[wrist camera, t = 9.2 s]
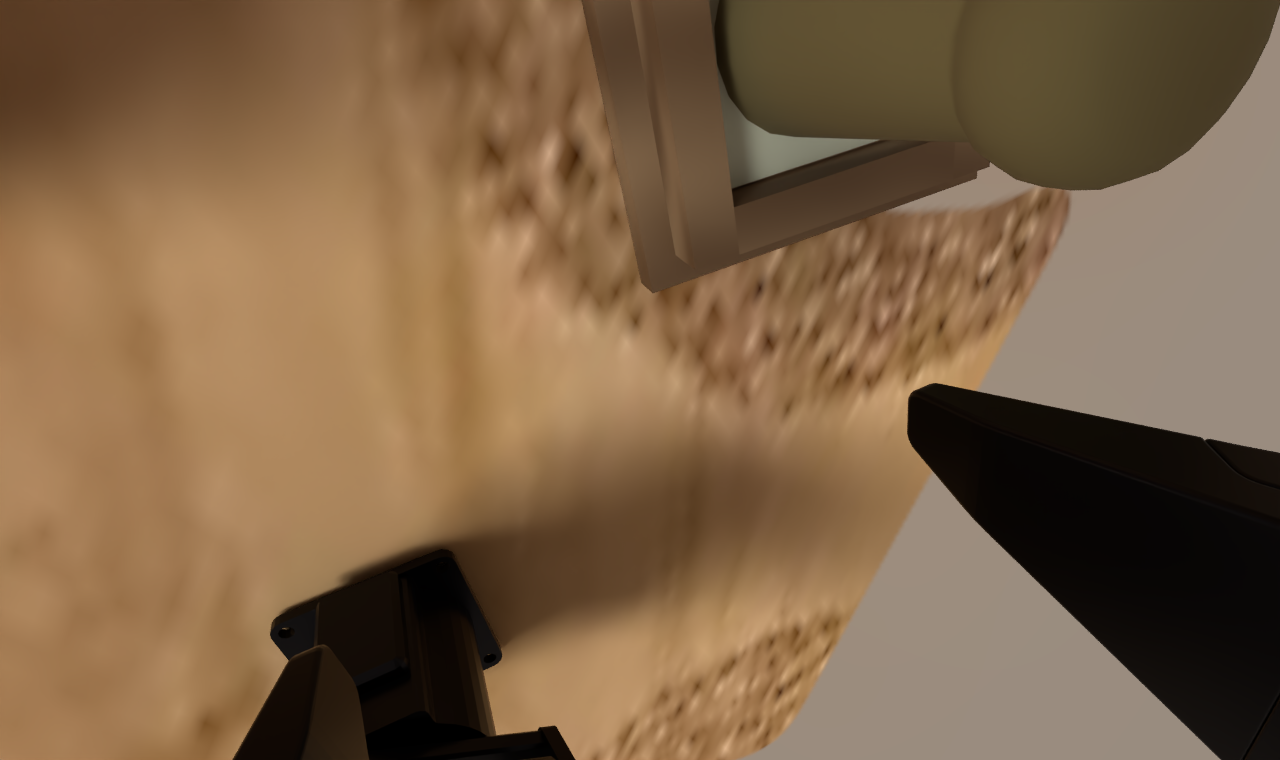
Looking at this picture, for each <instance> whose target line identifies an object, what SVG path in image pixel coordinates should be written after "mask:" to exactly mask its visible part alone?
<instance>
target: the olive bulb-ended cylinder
mask: <svg viewBox="0 0 1280 760" xmlns="http://www.w3.org/2000/svg"><path fill="white" fill-rule="evenodd" d="M1279 6H1280V0H719V4H718V9H717V15H716V20H715V26H714V29H715V43H716V57H717V66H718V68H719V71H720V74H721V77H722V80H723V82H724V85H725V88H726V91H727V94H728V96H729V98H730V99H731V100H732V101H733V103H734V104H735V105H736V107H737V108H738V109H739V110H740V112H741V113H742V114H743V115H744V117H745V118H746V119H747V120H748V121H750V122H751V123H753V124H755V125H756V126H758V127H760V128H762V129H763V130H765V131H767V132H768V133H770V134H777V135H784V136H791V137H808V138H839V139H871V140H903V141H934V142H966V143H970V144H971V146H972V147H973V149H974V150H975V151H976V152H977V153H979V154H980V155H981V156H983V157H984V158H986V159H987V160H988V161H990V162H991V163H992V164H994V165H995V166H997V167H998V168H1000V169H1001V170H1003V171H1004V172H1006V173H1007V174H1009V175H1010V176H1012V177H1013V178H1015V179H1017V180H1020V181H1024V182H1027V183H1031V184H1034V185H1038V186H1042V187H1049V188H1057V189H1065V190H1100V189H1104V188H1107V187H1110V186H1114V185H1117V184H1120V183H1123V182H1126V181H1130V180H1133V179H1136V178H1139V177H1142V176H1145V175H1147V174H1150V173H1153V172H1156V171H1159V170H1161V169H1162V168H1164V167H1165V166H1166V165H1168V164H1169V163H1171V162H1172V161H1174V160H1175V159H1177V158H1178V157H1180V156H1181V155H1183V154H1184V153H1186V152H1187V151H1189V150H1190V149H1191V148H1192V147H1193V146H1194V145H1195V144H1196V143H1197V142H1198V141H1199V140H1200V139H1201V138H1202V137H1203V136H1204V135H1205V134H1206V133H1207V132H1208V131H1209V130H1210V129H1211V127H1212V126H1213V125H1214V124H1215V123H1216V122H1217V121H1218V120H1219V119H1220V118H1221V117H1222V115H1223V114H1224V113H1225V112H1226V111H1227V109H1228V108H1229V106H1230V105H1231V103H1232V102H1233V101H1234V99H1235V98H1236V96H1237V95H1238V94H1239V92H1240V91H1241V89H1242V88H1243V86H1244V85H1245V84H1246V82H1247V80H1248V79H1249V78H1250V76H1251V74H1252V72H1253V70H1254V68H1255V66H1256V64H1257V62H1258V60H1259V58H1260V56H1261V54H1262V52H1263V50H1264V48H1265V46H1266V44H1267V42H1268V40H1269V37H1270V34H1271V31H1272V28H1273V25H1274V22H1275V18H1276V15H1277V12H1278V9H1279Z"/></svg>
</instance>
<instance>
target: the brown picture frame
mask: <svg viewBox="0 0 1280 760" xmlns="http://www.w3.org/2000/svg"><path fill="white" fill-rule="evenodd" d="M582 4H583V9H584V13H585V18H586V23H587V27H588V32H589V37H590V42H591V46H592V51H593V56H594V60H595V65H596V70H597V75H598V79H599V84H600V89H601V93H602V98H603V103H604V108H605V112H606V117H607V122H608V127H609V131H610V136H611V141H612V145H613V150H614V155H615V160H616V164H617V169H618V174H619V178H620V183H621V188H622V193H623V197H624V202H625V207H626V211H627V216H628V221H629V226H630V230H631V235H632V240H633V244H634V249H635V254H636V259H637V263H638V268H639V273H640V277H641V282H642V284H643V285H644V286H645V287H647V288H648V289H649V290H650V291H651V292H652V293H655V292H658V291H661V290H663V289H666V288H669V287H672V286H675V285H678V284H680V283H683V282H686V281H689V280H692V279H694V278H697V277H700V276H703V275H706V274H709V273H711V272H714V271H717V270H720V269H723V268H725V267H728V266H731V265H734V264H737V263H740V262H742V261H745V260H748V259H751V258H754V257H756V256H759V255H762V254H765V253H768V252H771V251H773V250H776V249H779V248H782V247H785V246H787V245H790V244H793V243H796V242H799V241H801V240H804V239H807V238H810V237H813V236H816V235H818V234H821V233H824V232H827V231H830V230H832V229H835V228H838V227H841V226H844V225H847V224H849V223H852V222H855V221H858V220H861V219H863V218H866V217H869V216H872V215H875V214H878V213H880V212H883V211H886V210H889V209H892V208H894V207H897V206H900V205H903V204H906V203H909V202H911V201H914V200H917V199H920V198H923V197H925V196H928V195H931V194H934V193H937V192H939V191H942V190H945V189H948V188H951V187H954V186H956V185H959V184H962V183H965V182H967V181H970V180H973V179H976V178H977V171H978V170H981V169H984V168H987V167H989V164H990V161H988V160H987V159H986V158H984V157H983V156H981V155H980V154H979V153H977V152H976V151H975V150H974V149H973V147H972V146H971V144H970V143H966V142H934V141H903V140H871V139H839V138H808V137H791V136H784V135H777V134H770V133H768V132H767V131H765V130H763V129H762V128H760V127H758V126H756V125H755V124H753V123H751V122H750V121H748V120H747V119H746V118H745V117H744V115H743V114H742V113H741V112H740V110H739V109H738V108H737V107H736V105H735V104H734V103H733V101H732V100H731V99H730V98H729V96H728V94H727V91H726V88H725V85H724V82H723V80H722V77H721V74H720V71H719V68H718V66H717V57H716V43H715V29H714V26H715V20H716V15H717V9H718V4H719V0H582Z"/></svg>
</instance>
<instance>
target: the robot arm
mask: <svg viewBox="0 0 1280 760" xmlns="http://www.w3.org/2000/svg"><path fill="white" fill-rule="evenodd" d="M907 434H908V438H909V441H910V443H911V445H912V447H913V448H914V449H915V451H916V452H917V453H918V454H919V455H920V457H921V458H922V459H923V460H924V461H925V462H926V464H927V465H928V466H929V467H930V468H931V470H932V471H933V472H934V473H935V474H936V476H937V477H938V478H939V479H940V480H941V482H942V483H943V484H944V485H945V486H946V487H947V489H948V490H949V491H950V492H951V493H952V495H953V496H954V497H955V498H956V499H957V501H958V502H959V503H960V504H961V505H962V506H963V508H964V509H965V510H966V511H967V512H968V513H969V514H970V515H971V517H972V518H973V519H974V520H975V521H976V522H977V523H978V524H979V525H980V526H981V527H982V528H983V529H984V530H985V531H986V532H987V533H988V534H989V535H990V536H991V537H992V538H993V539H994V540H995V541H996V542H997V543H998V544H999V545H1000V546H1001V547H1002V548H1003V549H1004V550H1006V552H1008V553H1009V554H1010V555H1011V556H1012V557H1013V558H1014V559H1015V560H1016V561H1017V562H1018V563H1019V564H1020V565H1021V566H1022V567H1023V568H1024V569H1025V570H1026V571H1027V572H1028V573H1029V574H1030V575H1031V576H1032V577H1033V578H1034V579H1035V580H1036V581H1037V582H1038V583H1039V584H1040V585H1041V586H1043V587H1044V588H1045V589H1046V590H1047V591H1048V592H1049V593H1050V594H1051V595H1052V596H1053V597H1054V598H1055V599H1056V600H1057V601H1058V602H1059V603H1060V604H1061V605H1062V606H1063V607H1064V608H1065V609H1066V610H1067V611H1068V612H1069V613H1070V614H1071V615H1072V616H1073V617H1074V618H1075V619H1076V620H1078V621H1079V622H1080V623H1081V624H1082V625H1083V626H1084V627H1085V628H1086V629H1087V630H1088V631H1089V632H1090V633H1091V634H1092V635H1093V636H1094V637H1095V638H1096V639H1097V640H1098V641H1099V642H1100V643H1101V644H1102V645H1103V646H1104V647H1106V649H1107V650H1108V651H1109V652H1110V653H1111V654H1113V655H1114V656H1115V657H1116V658H1117V659H1118V660H1119V661H1120V662H1121V663H1122V664H1123V665H1124V666H1125V667H1126V668H1127V669H1128V670H1129V671H1130V672H1131V673H1132V674H1133V675H1134V676H1135V677H1136V678H1137V679H1138V680H1139V681H1140V682H1141V683H1142V684H1143V685H1145V687H1147V689H1149V690H1150V691H1151V692H1152V693H1153V694H1154V695H1155V696H1156V697H1157V698H1158V699H1159V700H1160V701H1161V702H1162V703H1163V704H1164V705H1165V706H1166V707H1167V708H1168V709H1169V710H1170V711H1171V712H1172V713H1173V714H1174V715H1175V716H1177V718H1178V719H1180V721H1181V722H1182V723H1184V724H1185V725H1186V726H1187V727H1188V728H1189V729H1190V730H1191V731H1192V732H1193V733H1194V734H1195V735H1196V736H1197V737H1198V738H1199V739H1200V740H1201V741H1202V742H1203V743H1204V744H1205V745H1206V746H1207V747H1208V748H1209V749H1210V750H1211V751H1212V752H1213V753H1214V754H1215V755H1217V756H1218V757H1219V758H1220V759H1221V760H1280V453H1278V452H1273V451H1267V450H1262V449H1257V448H1252V447H1246V446H1241V445H1236V444H1232V443H1227V442H1222V441H1217V440H1213V439H1206V440H1204V439H1203V438H1201V437H1197V436H1192V435H1187V434H1182V433H1178V432H1172V431H1168V430H1163V429H1158V428H1153V427H1148V426H1144V425H1138V424H1134V423H1129V422H1124V421H1119V420H1114V419H1109V418H1104V417H1100V416H1095V415H1090V414H1085V413H1080V412H1075V411H1070V410H1065V409H1060V408H1055V407H1051V406H1045V405H1041V404H1036V403H1031V402H1026V401H1021V400H1016V399H1012V398H1007V397H1002V396H997V395H992V394H987V393H982V392H977V391H973V390H968V389H963V388H958V387H953V386H948V385H943V384H938V383H933V384H929V385H927V386H924V387H922V388H920V389H917V390H915V391H913V392H912V393H911V394H910V396H909V399H908V423H907ZM441 562H446V564H444V565H441V566H439V565H437V564H439V563H441ZM286 627H290V628H291V629H288V630H285V629H282V628H286ZM270 636H271V639H272V640H273V641H274V643H275V644H276V645H277V646H278V648H279V649H280V650H281V651H282V653H283V654H284V655H285V656H286V658H287V659H288V660H289V661H288V663H287V664H286V666H285V668H284V670H283V671H282V673H281V675H280V677H279V679H278V680H277V682H276V684H275V686H274V687H273V689H272V691H271V693H270V694H269V696H268V698H267V700H266V701H265V703H264V705H263V707H262V708H261V710H260V712H259V714H258V716H257V717H256V719H255V721H254V723H253V724H252V726H251V728H250V730H249V731H248V733H247V735H246V737H245V738H244V740H243V742H242V744H241V746H240V747H239V749H238V751H237V753H236V754H235V756H234V758H233V760H575V758H574V757H573V755H572V753H571V751H570V750H569V748H568V746H567V744H566V743H565V741H564V739H563V738H562V736H561V734H560V732H559V731H558V729H557V727H556V726H548V727H539V729H538V731H530V732H521V733H513V734H504V735H496V731H495V726H494V722H493V717H492V712H491V707H490V702H489V697H488V693H487V688H486V683H485V678H484V673H483V670H485V669H488V668H490V667H492V666H494V665H496V664H497V663H498V662H499V661H500V660H501V658H502V652H501V648H500V645H499V643H498V641H497V639H496V637H495V635H494V633H493V631H492V629H491V627H490V625H489V623H488V621H487V619H486V617H485V615H484V613H483V611H482V609H481V607H480V605H479V603H478V601H477V599H476V597H475V595H474V593H473V591H472V589H471V587H470V585H469V583H468V581H467V579H466V577H465V575H464V573H463V571H462V569H461V567H460V565H459V563H458V561H457V559H456V557H455V555H454V554H453V553H452V552H451V551H449V550H443V549H441V550H437V551H435V552H432V553H430V554H427V555H425V556H422V557H420V558H418V559H415V560H413V561H410V562H408V563H405V564H403V565H401V566H398V567H396V568H393V569H391V570H389V571H386V572H384V573H381V574H379V575H376V576H374V577H372V578H369V579H367V580H364V581H362V582H359V583H357V584H355V585H352V586H350V587H347V588H345V589H342V590H340V591H338V592H335V593H333V594H330V595H328V596H326V597H323V598H321V599H318V600H316V601H313V602H311V603H309V604H306V605H304V606H301V607H299V608H296V609H294V610H292V611H289V612H287V613H284V614H282V615H280V616H278V617H276V618H275V619H274V620H273V622H272V625H271V631H270ZM488 654H490V655H488Z"/></svg>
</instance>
